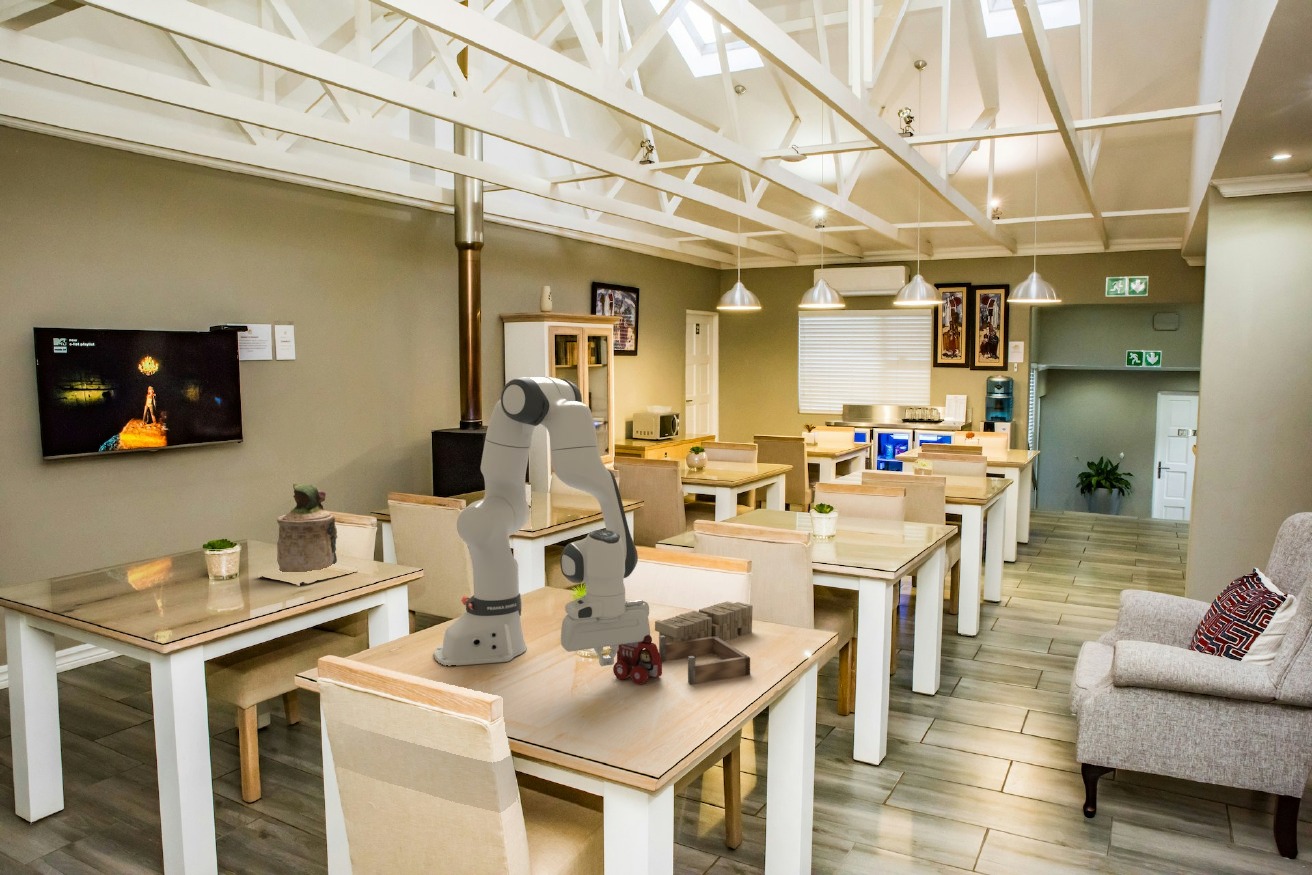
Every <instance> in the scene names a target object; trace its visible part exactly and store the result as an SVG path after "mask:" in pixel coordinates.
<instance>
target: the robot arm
mask: <svg viewBox="0 0 1312 875" xmlns="http://www.w3.org/2000/svg"><path fill="white" fill-rule="evenodd" d="M539 425H542V426H543V427H545V429H546V430H547V432H548V435H549V444H550V446H549V447H550V456H551V464H552V470H553V471H554V472H553V473H554V474H555V476H556V477H557V478H558V479H559V480H560V481H561V482H562V483H563V484H565V485H566V486H569V487H570V488H573V489H576V490H579V491H583V492H584V493H585V492H586V493H587V494H590V495H591V496H593V497H594V498H595V499H596V500H597V502H598V503H599V506H600V510H601V513H602V518H603V523H604V525H605V526H604V527H605V529H597V530H593V531H590V532H589V533H588V534H587V536H586V537H585V538H583V539H581V540H576V541H573V542H568V544H566V545H565V547H564V548H563V550H562V552H561V554H560V559H559V560H560V561H559V562H560V571H561V573H562V575H563V576H564V577H565V578H566V579H567V580H568V581H569V582H571V583H574V584H585V586H586V587H585V588H586V589H585V594H584V595H582V596H580V597H578V598H576V599H574V600H571V601H569V602H567V603H566V604H565V607H564V611H565V614H566V615H565V616H564V618H563V619H562V622H561V623H562V624H561V632H560V644H561V647H562V648H563V649H564V650H565V651H566V652H568V653H569V652H578V651H584V650H592V649H593V651H594V652H595V653H596V654H597V656H598V659H599V660H598V663H599V666H600V667H606V666H614V664H615V657H616V656H617V651H618V650H619V645H621V644H628V643H635V642H642V641H643V640H644V637H645V636H646V635H650V636H651V627H650V626H651V625H650V620H649V616H650V606H649V604H648V602H646V601H644V600H643V599H637V600H628V601H626V587H625V583H624V579H627V578H628V577H630V575H631V574H632V573H633V572H634V570H635V569H636V567H637V564H638V560H639V559H638V558H639V556H638V555H639V554H638V551H637V550H638V549H637V547H636V544H635V542H634V541H633V537H632V535H631V533H630V532H631V531H630V529H629V525H628V521H627V516H626V513H625V509H624V504H623V501H622V497H621V491H620V489H619V486H618V483H617V480H616V477H615V475H614V472H612V470H610V469H608V468H607V467H606V465H605V463H604V462H603V460H602V458H601V453H600V449H599V443H598V442H599V441H598V434H597V429H596V428H597V427H596V424H595V420H594V417H593V414H592V410H591V409H590V407H589V406H588V405H587V404H585V403H583V398H582V393H581V390H580V389H579V388H578V386H577V385H576V384H575V383H573V382H571V381H569V380H568V379H564V378H556V377H552V376H551V377H550V376H535V377H528V376H521V377H516V378H513V379H511V380H510V381H508V382H507V383H506V384H505V385H504V386H503V388H502V391H501V394H500V399H498V401H497V402H496V403H495V405H494V408H493V409H492V413H491V416H490V418H489V421H488V425H487V429H486V434H485V439H484V445H483V450H482V455H481V456H482V457H481V461H480V462H481V463H480V472H481V474H482V476H483V479H484V496H483V498H481V499H479V500H476V501H473V502H471V503H470V504H468V505H467V506H466V507H465V508H464V509H463V510H462V511H461V512H460V513H459V515H458V516H457V521H456V530H457V533H458V535H459V537H460V538H461V539H462V541H464V542H465V544H466V546H467V549H468V552H469V555H470V559H471V564H472V576H473V577H472V578H473V595H472V596H471V597H469V596H468V595H464V596H462V597H461V600H460V601H461V603H462V604H463V605H464V606H465V612H463V614H462V615H461V616H459V617H458V618H457V619H456V620H455V621H454V622H452V623H451V624H449V626H448V627H446V629H445V632H444V637H443V641H442V645H438V646H437V647H436V648H435V649H434V651H433V652H434V653H433V657H434V659H435V661H438V663H439V664H440V663H441V664H440V665H442V664H443V665H442V666H446V665H448V666H447V667H452V666H451V665H456V666H467V665H478V664H479V665H480V664H482V665H483V664H494V663H506V662H510V661H511V660H513V659H514V658H515V657H517V656H519V655H522V654H524V652H526V650H527V644H526V641H525V638H524V633H523V627H522V621H521V616H522V597H521V595H522V594H521V593H520V590H519V589H520V587H519V586H520V585H519V584H520V583H519V582H520V581H519V577H520V576H519V562H518V561H517V559H515V558H514V555H513V553H512V549H511V546H510V545H511V544H510V537H511V536H512V535H515V534H517V533H518V532H520V531H521V529H522V528H524V526H525V525H526V524H527V522H528V520H529V518H530V513H531V511H530V505H529V503H528V501H527V493H526V477H527V476H526V474H527V467H528V463H529V457H530V450H531V444H532V437H533V432H534V430H535V428H536V427H538V426H539ZM604 647H605V648H606V647H609V648H610V651H609V653H608V655H603V654H602V652H604Z"/></svg>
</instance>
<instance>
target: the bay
mask: <svg viewBox="0 0 1312 875" xmlns="http://www.w3.org/2000/svg"><path fill="white" fill-rule="evenodd" d="M658 651H659V654H660V657H661V660H662V663H663V662H669V661H676V660H683V659H687V684H689V685H695V683H696V684H701V683H700V682H702V683H706V682H713V681H719V680H724V679H731V678H737V677H738V678H739V677H742V676H749V675H751V657H750V656H748V654H745V653H744V652H742V651H740V650H739V649H737V648H735V647H734V646H732V645H731V644H729V643H727V641H725V642H724V641H723V640H721V639H719V638H718V637H716V636H712V637H705V638H698V639H691V640H685V641H678V642H671V643H666V637H665V636H664V635H663V636H659V635H658ZM708 655H709V656H710V655H714V656H716V657H717V658H718V659H719V660H713V661H712V660H711V661H707V662H706V661H705V662H700V663H699V662H698V663H696V656H697V657H703V656H708Z"/></svg>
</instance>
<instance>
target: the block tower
mask: <svg viewBox="0 0 1312 875" xmlns="http://www.w3.org/2000/svg"><path fill="white" fill-rule="evenodd" d="M654 631H655V632H657V633H658V637H659V636H663V635H664V636H665V637H666V643H671V642H678V641H685V640H691V639H698V638H705V637H712V636H716V637H718V638H719V639H721V640H723V641H724V642H729V641H730V640H733V639H736V638H738V637H739V636H740V637H743V636H745V635H748V634H751V633H753V604H748V603H744V602H740V601H737V602H732V601H729V600H728V601H724V602H721V603H717V604H713V605H709V606H707V607H704V608H703V607H702V608H700V609H698V611H696V610H692V611H690V612H689V611H688V612H687V613H681V614H679V615H675V616H672V617H670V618H667V619H663V620H659V619H658V620H655V621H654Z"/></svg>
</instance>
